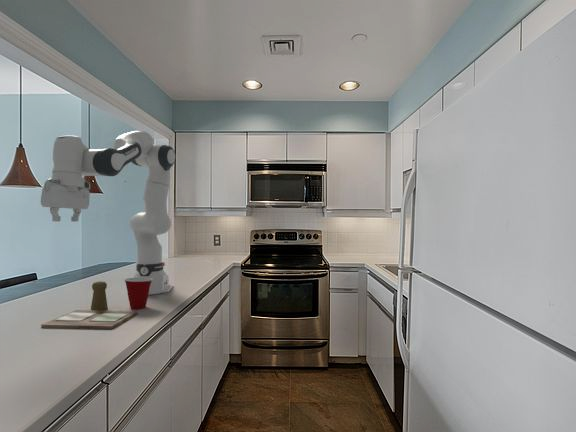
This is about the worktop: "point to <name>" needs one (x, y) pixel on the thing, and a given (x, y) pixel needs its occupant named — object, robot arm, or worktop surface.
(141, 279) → the plastic cup
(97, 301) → the cork
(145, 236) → the robot arm
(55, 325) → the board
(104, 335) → the worktop surface
